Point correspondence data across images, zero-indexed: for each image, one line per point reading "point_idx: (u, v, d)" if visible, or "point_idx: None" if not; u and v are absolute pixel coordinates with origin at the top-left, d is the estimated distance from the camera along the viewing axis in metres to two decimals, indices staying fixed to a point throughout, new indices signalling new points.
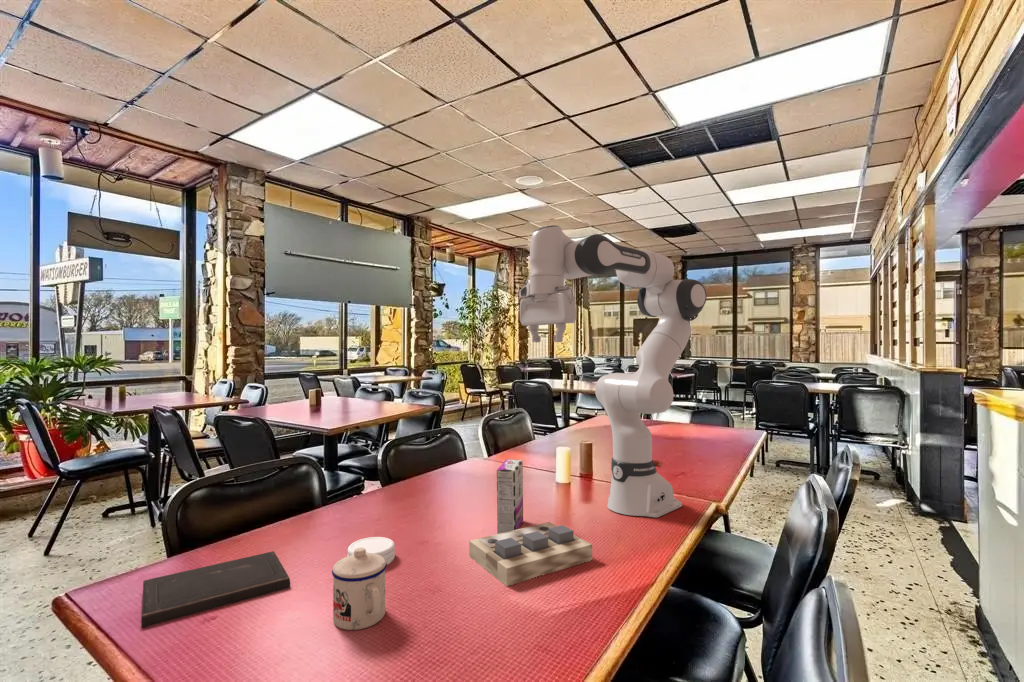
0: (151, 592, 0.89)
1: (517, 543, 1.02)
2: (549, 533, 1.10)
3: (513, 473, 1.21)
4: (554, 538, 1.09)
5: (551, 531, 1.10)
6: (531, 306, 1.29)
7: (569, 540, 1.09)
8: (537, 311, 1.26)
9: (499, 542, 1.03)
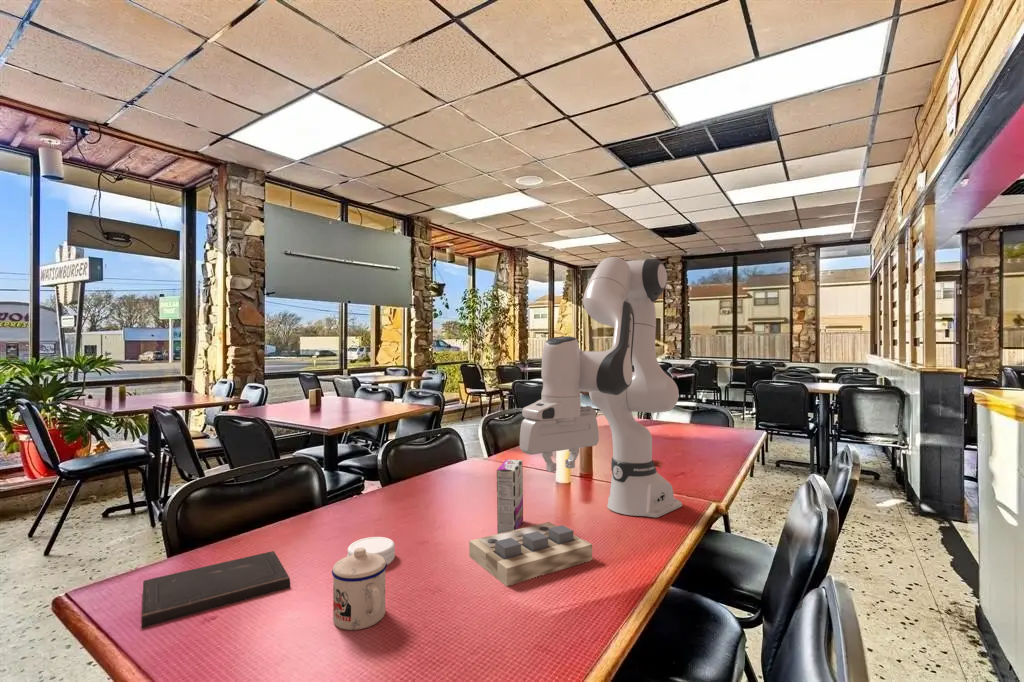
0: (151, 592, 0.89)
1: (517, 543, 1.02)
2: (549, 533, 1.10)
3: (513, 473, 1.21)
4: (554, 538, 1.09)
5: (551, 531, 1.10)
6: (548, 429, 1.06)
7: (569, 540, 1.09)
8: (559, 435, 1.08)
9: (499, 542, 1.03)
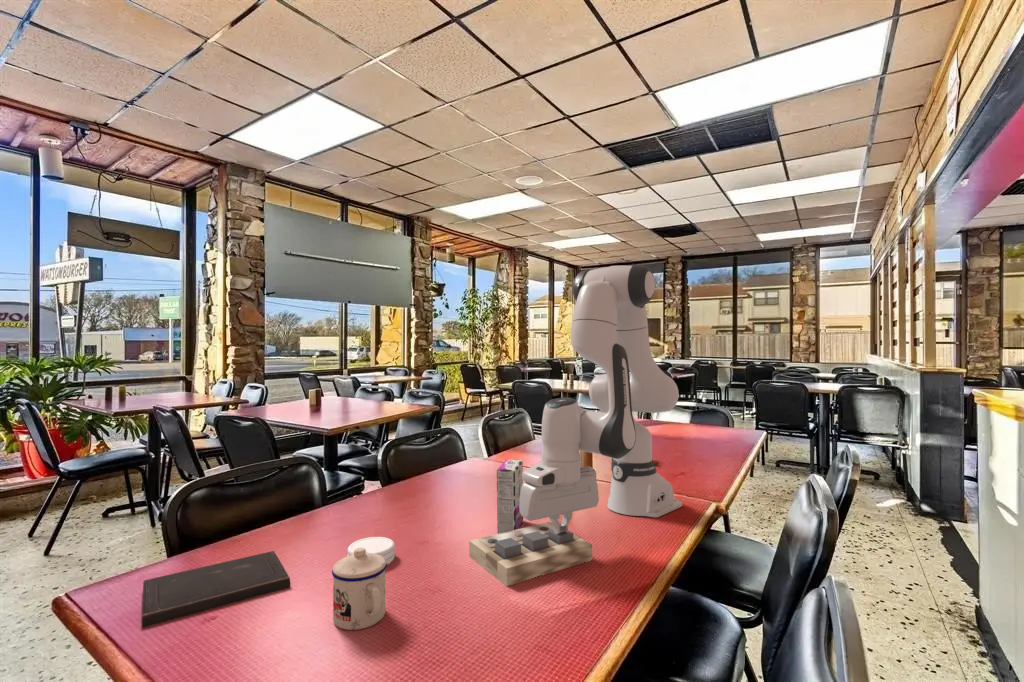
0: (151, 592, 0.89)
1: (517, 543, 1.02)
2: (549, 536, 1.10)
3: (513, 473, 1.21)
4: (554, 541, 1.09)
5: (551, 534, 1.10)
6: (548, 494, 1.06)
7: None
8: (559, 499, 1.07)
9: (499, 542, 1.03)
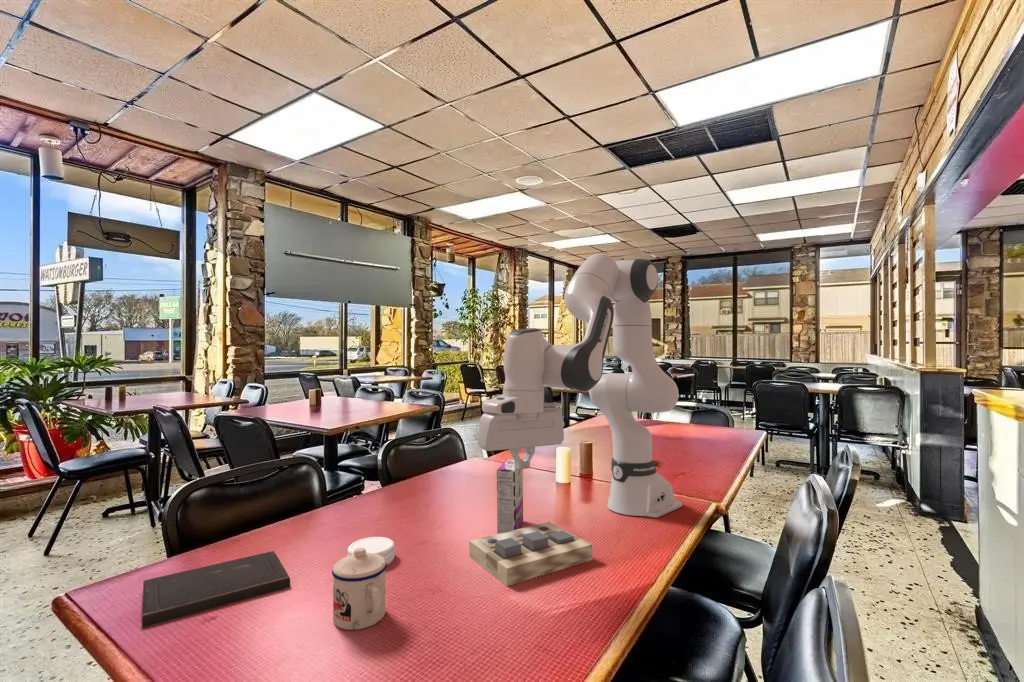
0: (151, 592, 0.89)
1: (517, 543, 1.02)
2: (549, 539, 1.10)
3: (513, 473, 1.21)
4: None
5: (551, 537, 1.10)
6: (508, 425, 1.01)
7: None
8: (520, 431, 1.02)
9: (499, 542, 1.03)
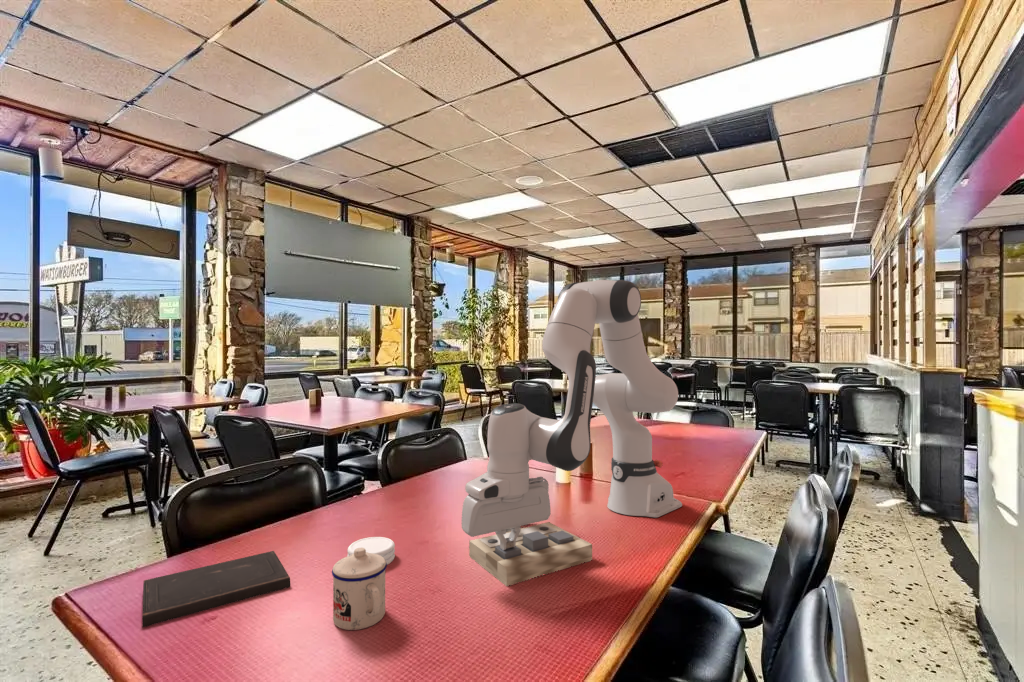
0: (151, 592, 0.89)
1: (517, 548, 1.02)
2: (549, 539, 1.10)
3: None
4: None
5: (551, 537, 1.10)
6: (492, 507, 0.99)
7: None
8: (505, 513, 1.00)
9: (499, 547, 1.03)
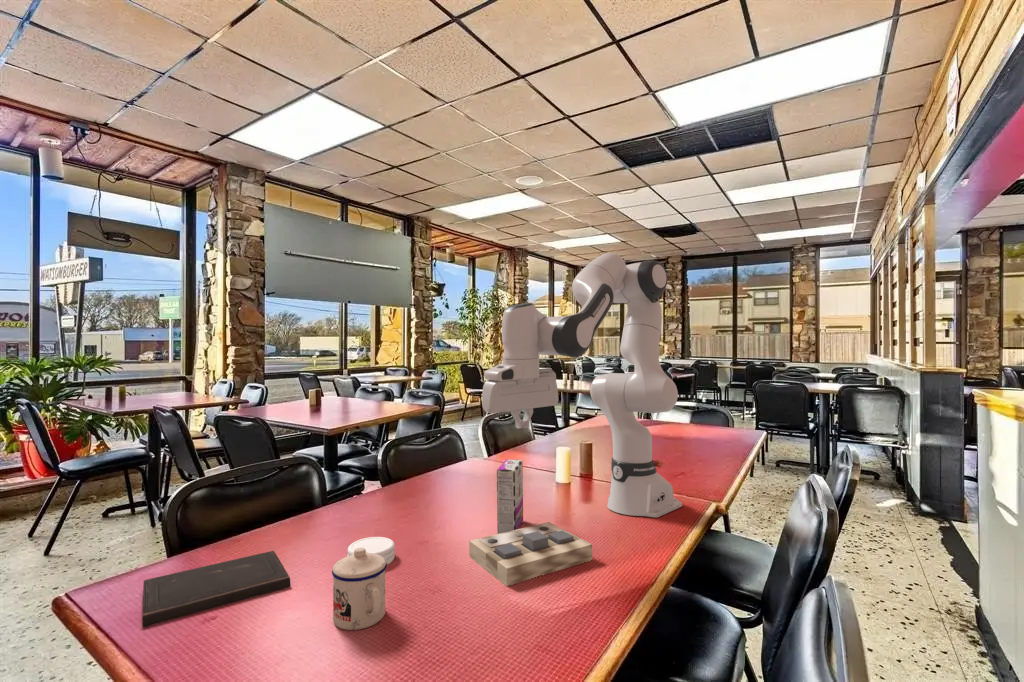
0: (151, 592, 0.89)
1: (517, 549, 1.02)
2: (549, 539, 1.10)
3: (513, 473, 1.21)
4: None
5: (551, 537, 1.10)
6: (508, 390, 1.13)
7: None
8: (519, 395, 1.15)
9: (499, 548, 1.03)
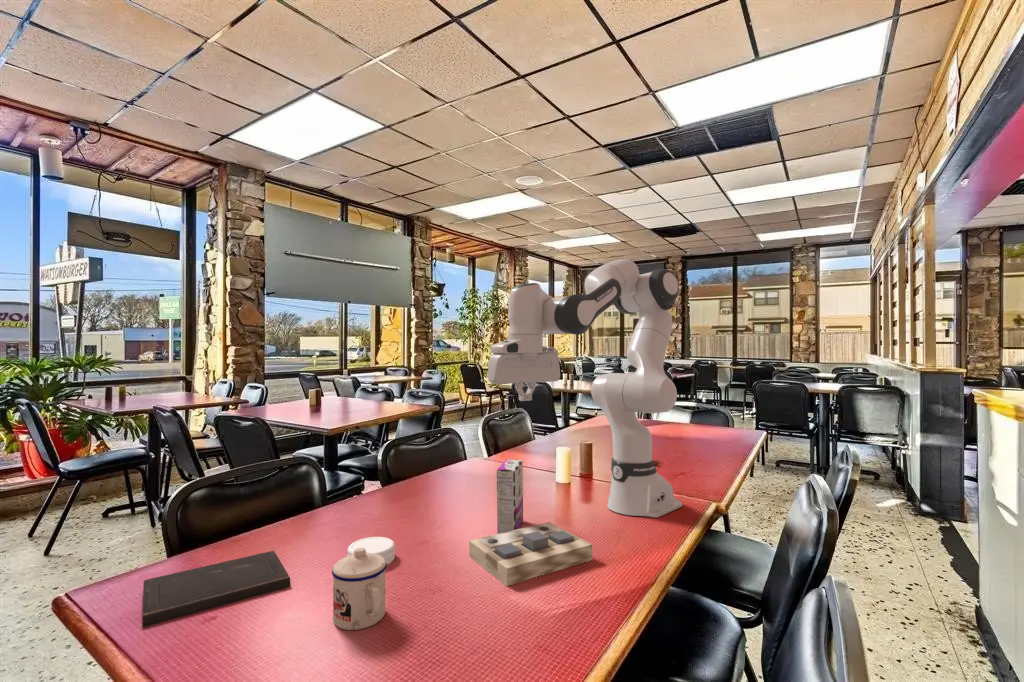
0: (151, 592, 0.89)
1: (517, 549, 1.02)
2: (549, 539, 1.10)
3: (513, 473, 1.21)
4: None
5: (551, 537, 1.10)
6: (513, 363, 1.21)
7: None
8: (523, 369, 1.22)
9: (499, 548, 1.03)
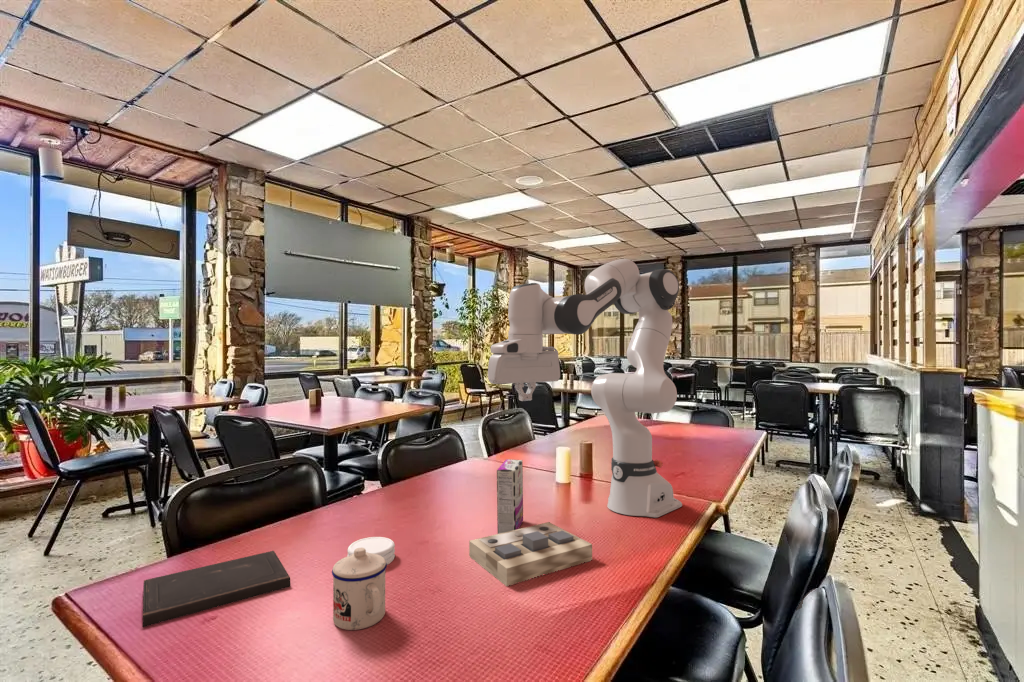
0: (151, 592, 0.89)
1: (517, 549, 1.02)
2: (549, 539, 1.10)
3: (513, 473, 1.21)
4: None
5: (551, 537, 1.10)
6: (513, 363, 1.21)
7: None
8: (523, 369, 1.22)
9: (499, 548, 1.03)
